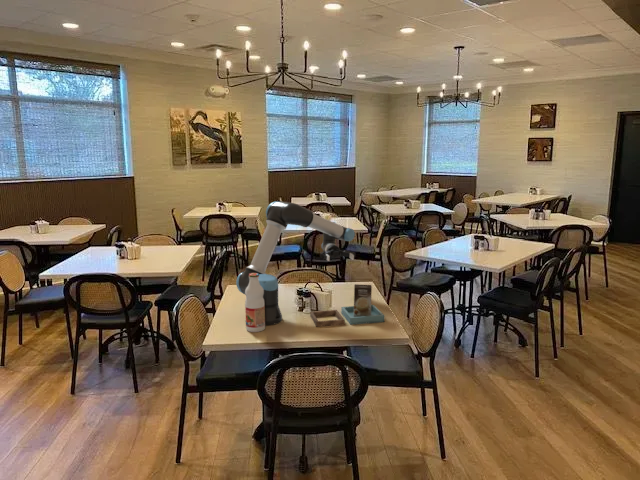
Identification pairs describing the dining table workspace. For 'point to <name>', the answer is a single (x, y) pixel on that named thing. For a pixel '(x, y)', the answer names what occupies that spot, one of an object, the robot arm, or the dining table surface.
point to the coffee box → (362, 300)
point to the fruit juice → (254, 305)
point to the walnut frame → (328, 322)
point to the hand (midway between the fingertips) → (341, 258)
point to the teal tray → (374, 318)
